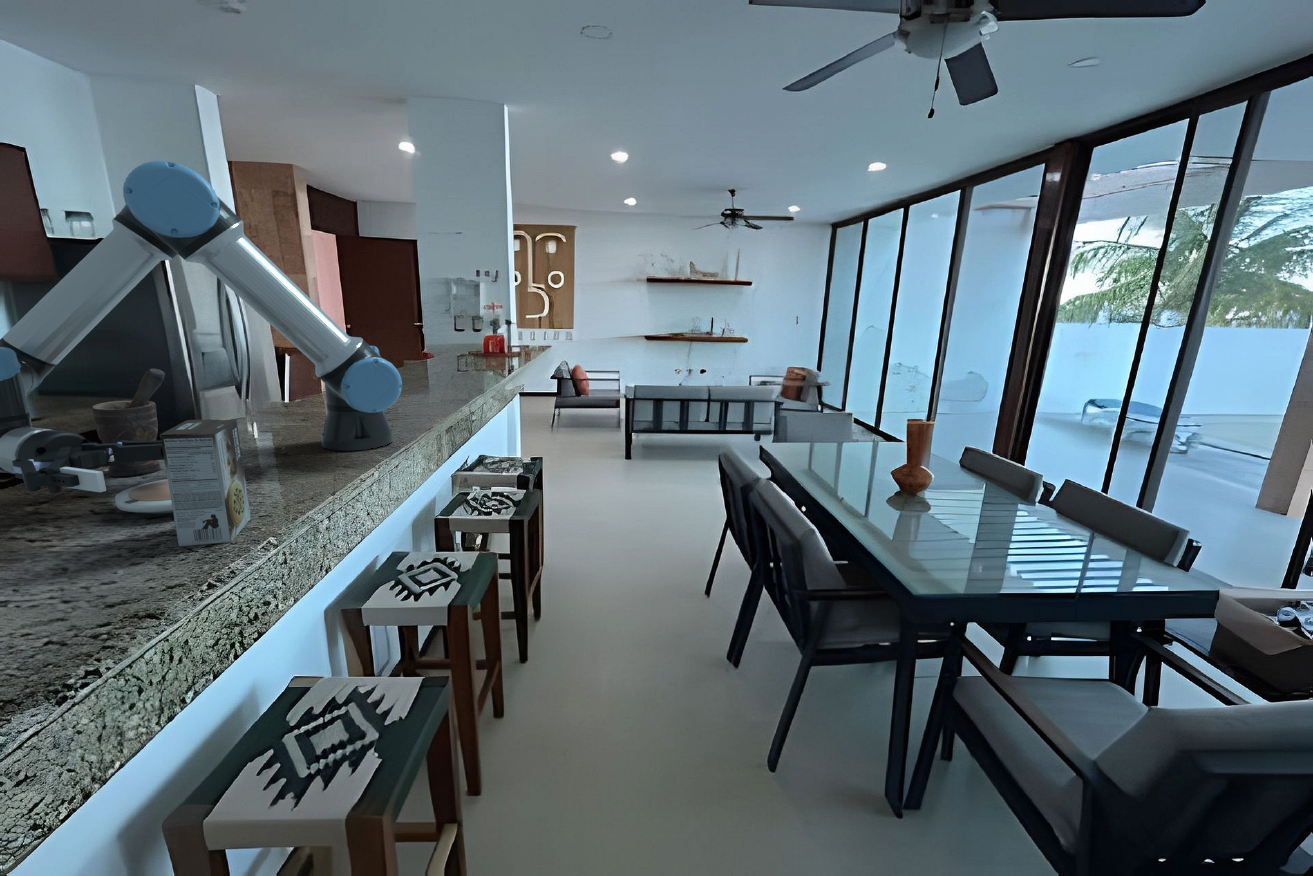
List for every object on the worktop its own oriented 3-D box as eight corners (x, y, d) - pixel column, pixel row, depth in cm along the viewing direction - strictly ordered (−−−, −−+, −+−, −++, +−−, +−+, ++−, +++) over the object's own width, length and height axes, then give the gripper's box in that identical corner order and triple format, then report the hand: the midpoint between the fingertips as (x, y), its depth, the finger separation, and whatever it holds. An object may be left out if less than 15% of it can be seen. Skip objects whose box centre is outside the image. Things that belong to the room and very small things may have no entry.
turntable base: (184, 493, 96) (183, 485, 96) (231, 500, 94) (230, 491, 94) (118, 513, 87) (116, 504, 86) (169, 521, 85) (168, 512, 84)
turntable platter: (185, 479, 98) (184, 471, 98) (250, 488, 95) (249, 480, 95) (91, 505, 85) (89, 497, 84) (164, 517, 82) (162, 508, 82)
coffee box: (202, 522, 85) (185, 419, 81) (252, 519, 87) (238, 418, 83) (176, 547, 76) (156, 433, 73) (232, 542, 79) (216, 431, 75)
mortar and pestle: (192, 463, 113) (176, 364, 108) (176, 475, 105) (159, 369, 100) (117, 467, 108) (98, 364, 103) (95, 480, 100) (73, 370, 96)
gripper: (140, 457, 98) (238, 469, 94) (-65, 503, 75) (54, 523, 70) (133, 415, 97) (232, 426, 92) (-79, 449, 73) (41, 466, 69)
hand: (155, 468), depth 81 cm, fingers open, 13 cm apart
